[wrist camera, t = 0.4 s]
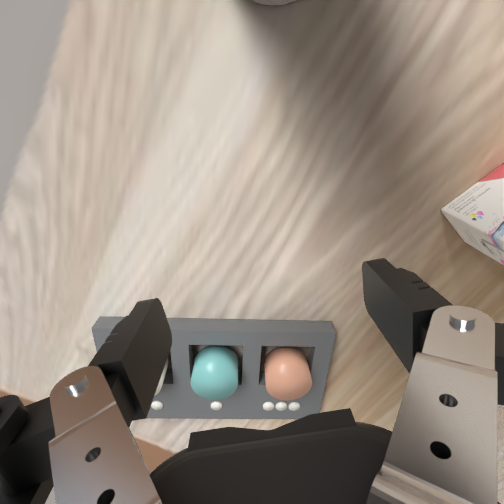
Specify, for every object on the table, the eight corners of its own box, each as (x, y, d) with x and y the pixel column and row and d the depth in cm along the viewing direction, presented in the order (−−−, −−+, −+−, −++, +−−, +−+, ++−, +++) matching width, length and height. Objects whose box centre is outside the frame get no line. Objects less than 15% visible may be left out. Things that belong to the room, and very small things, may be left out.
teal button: (193, 345, 34) (189, 365, 31) (238, 345, 34) (238, 366, 31) (195, 377, 36) (191, 399, 33) (237, 378, 36) (237, 400, 33)
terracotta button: (265, 346, 34) (267, 366, 31) (309, 346, 34) (315, 367, 31) (262, 378, 36) (264, 400, 33) (304, 379, 36) (309, 400, 33)
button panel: (99, 316, 33) (90, 329, 31) (331, 321, 34) (336, 334, 33) (118, 403, 39) (111, 419, 37) (315, 405, 40) (318, 420, 38)
